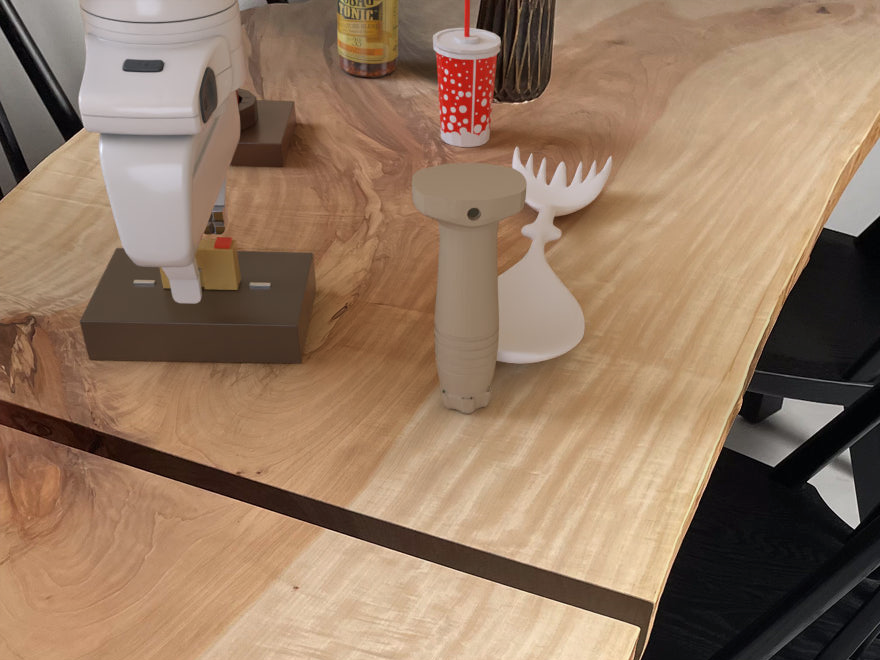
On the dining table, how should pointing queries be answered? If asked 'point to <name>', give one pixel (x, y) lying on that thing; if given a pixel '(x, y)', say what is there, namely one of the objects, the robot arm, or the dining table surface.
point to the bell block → (263, 131)
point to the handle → (467, 271)
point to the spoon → (543, 270)
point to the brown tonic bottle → (367, 36)
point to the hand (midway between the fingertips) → (203, 262)
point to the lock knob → (216, 264)
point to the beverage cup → (466, 82)
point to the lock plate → (203, 313)
